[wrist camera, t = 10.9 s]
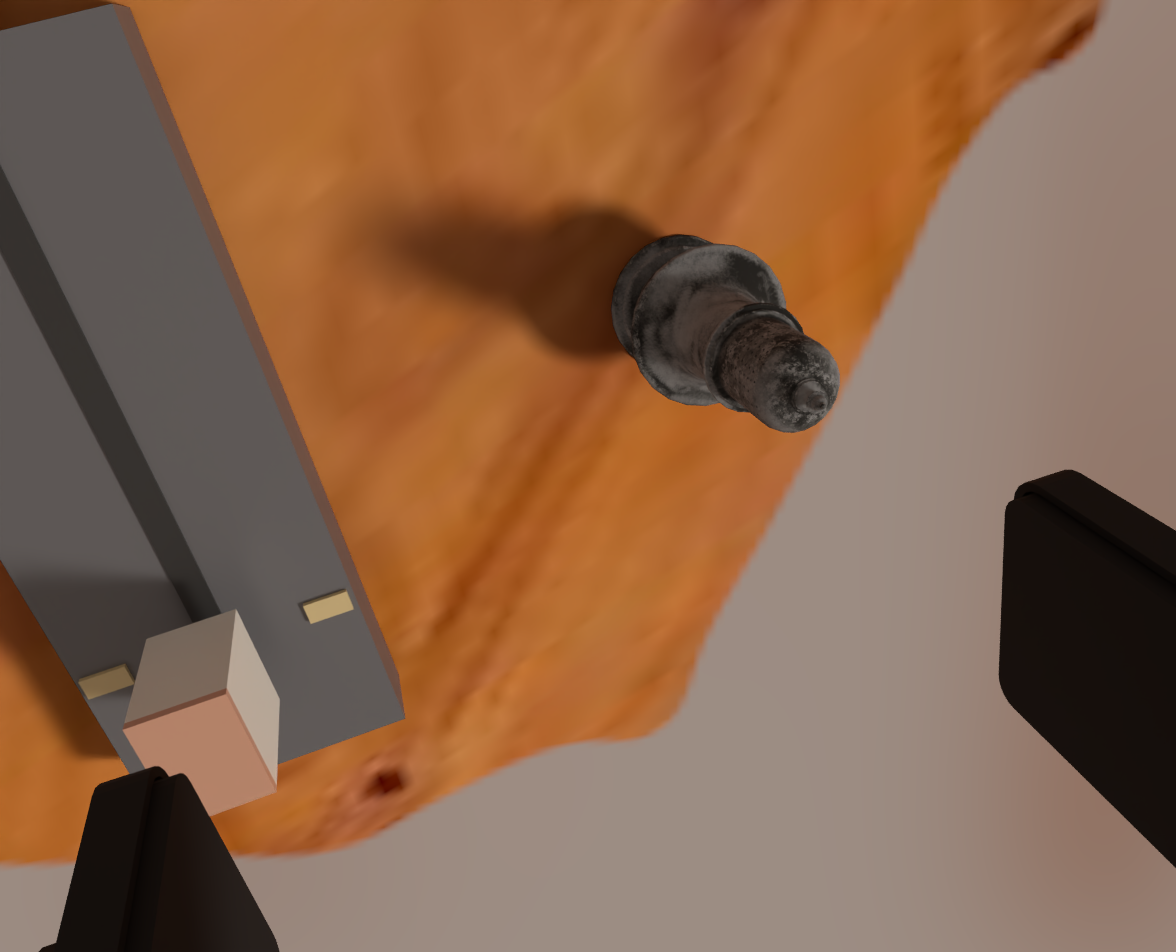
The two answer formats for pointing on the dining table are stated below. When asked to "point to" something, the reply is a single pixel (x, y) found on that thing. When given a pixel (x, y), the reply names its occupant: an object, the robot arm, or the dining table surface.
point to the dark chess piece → (721, 333)
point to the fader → (207, 712)
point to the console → (153, 406)
